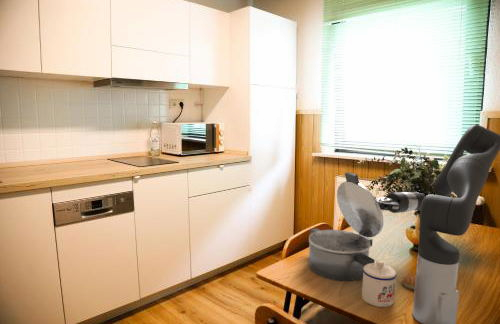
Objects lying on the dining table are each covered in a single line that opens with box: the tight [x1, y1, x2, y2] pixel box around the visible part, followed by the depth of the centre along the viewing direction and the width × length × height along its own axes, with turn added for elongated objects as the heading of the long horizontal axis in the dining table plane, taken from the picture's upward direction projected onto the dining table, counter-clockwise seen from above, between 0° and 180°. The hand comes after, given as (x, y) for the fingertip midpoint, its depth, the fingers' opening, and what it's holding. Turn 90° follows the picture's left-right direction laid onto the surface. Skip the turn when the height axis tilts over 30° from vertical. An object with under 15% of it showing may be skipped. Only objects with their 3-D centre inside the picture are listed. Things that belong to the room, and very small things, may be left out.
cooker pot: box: [308, 227, 376, 282], centre depth 118 cm, size 31×23×10 cm
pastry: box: [401, 275, 416, 291], centre depth 106 cm, size 9×7×4 cm
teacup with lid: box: [361, 260, 397, 308], centre depth 98 cm, size 12×9×12 cm
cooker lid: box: [336, 171, 384, 238], centre depth 119 cm, size 21×24×4 cm
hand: (365, 204), depth 120 cm, fingers closed
